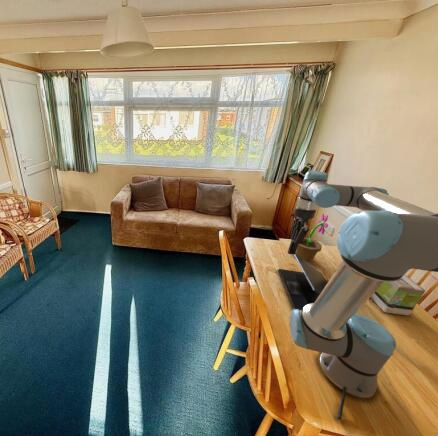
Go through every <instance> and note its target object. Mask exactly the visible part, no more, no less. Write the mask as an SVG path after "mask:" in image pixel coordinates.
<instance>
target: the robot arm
mask: <svg viewBox="0 0 438 436" xmlns="http://www.w3.org/2000/svg"><path fill="white" fill-rule="evenodd" d="M328 180H329V174H328V173H327V172H324V171H319V170H309V171H307V172H306V173H305V175H304V178H303V181H302V184H301V187H300V191H299V195H298V197H297V201H296V203H295V205H296V206H295V207H294V211H293V215H294V216H293V217H292V218H293V219H292V225H291V230H290V235H289V237H290V244H289V246H288V248H287V249H288V250H287V254H288V255H293V256H294V255H295V252H296V249H297V246H298V244H302V242H303V240H304V238H306V236H307V234H308V232H310V228H309V227H308V225H309V220H312V219H314V218H315V215H316V212H317V209H318V208H323V209H329V208H332V207H334V206H337V207H338V206H339V207H347V208H348V207H349V208H357V209H359V210H360V211H358V212H355V213H354V214H352V215H349V217H347V219H346V220H344V222H343V223H342V224H341V226H340V227H339V231H338V235H339V236H337V240H336V246H337V250H338V253H339V254H340V257H341V260H342V261H341V263H340V264H339V265H338V267H337V268H336V270H335V272H334V273H333V275H332V276H331V277H330V279H329V280H328V281H327V282H328V283H327V285H326V286H325V288H324V289H323V291H322V292H321V294H320V295H319V297H318V298H317V300H316V301H315V302H314V303H311V304H308V305H306V306H305V307H304V308H303V310H302V311H301V310H298V309H293V308H292V309H291V311H290V314H289V330H290V337H291V339H292V342H293V343H294V345H296V347H299V348H303V349H305V350H309V351H313V352H318V353H321V354H320V356H319V359H318V364H319V367H320V369H321V372H322V373H323V375H324V376H325V378H326V379H327V380H328V381H329V383H331V384H332V385H333V386H334V387H336V388H337V389H339V390H340V391H341V392H342V394H341V399H340V403H339V409H338V413H337V419H338V420H340V421H341V420H342V414H343V410H344V404H345V399H346V396H347V395H349V396H352V397H354V398H357V399H370V398H372V397H373V396H374V395H375V394H376V392H377V389H378V374H379V373H380V372H381V370H382V368H383V367H384V366H385V365H386V363H387V362H388V361H389V359H390V358H391V357H392V356H393V355H394V352H395V350H396V348H397V342H396V339H395V337H394V335H393V334H392V333H391V332H390V331H389V330H388V329H387V328H386V327H385V326H384V325H382V324H380V322H378V321H376V320H374V319H372V318H370V317H368V316H365V315H362V314H359V313H357V312H358V311H359V310H360V309H361V308H362V307H363V306H364V305H365V304H366V303H367V302H368V301H369V299H371V296H372V295H373V294H374V293H375V292H376V291H377V290H378V288H379V287H380V286H381V285H382V284H383V283H384V282H392V281H397V280H399V279H400V278H401V277H402V276H403V275H404V274H405V275H406V274H407V273H408V272H409V271H410V270H420V271H426V272H427V271H428V272H435V273H438V212H437V213H435V212H433V211H431V210H428V209H425V208H423V207H420V206H418V205H416V204H412V203H410V202H408V201H405V200H402V199H400V198H397V197H394V196H392V195H390V194H389V193H388V190H387V189H385V188H383V187H375V186H356V185H347V184H345V185H342V184H332V183H328ZM356 313H357V314H356ZM346 394H347V395H346Z"/></svg>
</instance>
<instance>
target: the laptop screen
mask: <svg viewBox="0 0 438 436" xmlns="http://www.w3.org/2000/svg"><path fill="white" fill-rule="evenodd" d="M294 256H295V257H294ZM293 257H294V258H295V260H296V261H297V263H298V265H299V266H300V269H301V272H304V274H305V276H306V278H307V280H308V282H309V283H310V285H311V287H312V289H313V291H315V292H316V293H317V294H319V295H320V294H321V292H322V291H323V289H324V288H325V286H326V285H327V283H328V282H329V281H328V280H327V279H326V277H325V275H324V274H323V273H322V272H321V271H319V270H318V269H317V268H316V267H314V266H313V265H312V264H310V262H307V261H305V260H304V259H303V258H301V257H300V256H299V255H298V254H296V253H295V255H294V254H293Z"/></svg>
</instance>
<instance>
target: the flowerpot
mask: <svg viewBox="0 0 438 436" xmlns="http://www.w3.org/2000/svg"><path fill="white" fill-rule="evenodd" d="M328 218H329V215H325V214H324V213H322V214H321V219H320V220H318V223H317V225H316V226H315V227H314V228H311V230H310V233H309V235H308V237H305V238H304V240H303V242H302V244H298V246H297V249H296V252H295V253H296V254H298V255H299V256H300V257H301V258H303V259H304V260H305V261H307V262H308V263H310V262H313V260H314V259H315V257H316V255H317V254H318V253H319V252H321V251H322V248H323V246H322V244H321V243H320V242H319V241H317V240H316V239H312V235H313V234H314V232H315V231H316V230H317V229H318V230H317V232H318V233H321V235H324V234H325V228H328V227H329V224H328V223H327V221H328ZM293 258H295V256H294V255H293Z"/></svg>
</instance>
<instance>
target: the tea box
mask: <svg viewBox="0 0 438 436" xmlns="http://www.w3.org/2000/svg"><path fill="white" fill-rule="evenodd" d="M425 292H426V289H424V288H423V287H422V286H420V285H419V284H417V282H415V281H414V280H412V278H410V277H409V276H408V275H406V273H405V274H404V275H403V276H402V277H401V278H400V279H399V280H397V281H392V282H384V283H383V284H382V285H381V286H380V287H379V288H378V290H377V291H376V292H375V293H374V294H373V295H372V296H371V297H370V299H372V301H373V302H374V303H375V304H376V305H377V306H378V307H379V308H380V309H381V310H382V311H383V312H384V313H388V314H394V315H402V316H410V314H411V313H412V312H413V310H414V309H415V307H416V306H417V304H418V303H419V302H420V300H421V298H422V297H423V296H424V295H425Z"/></svg>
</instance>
